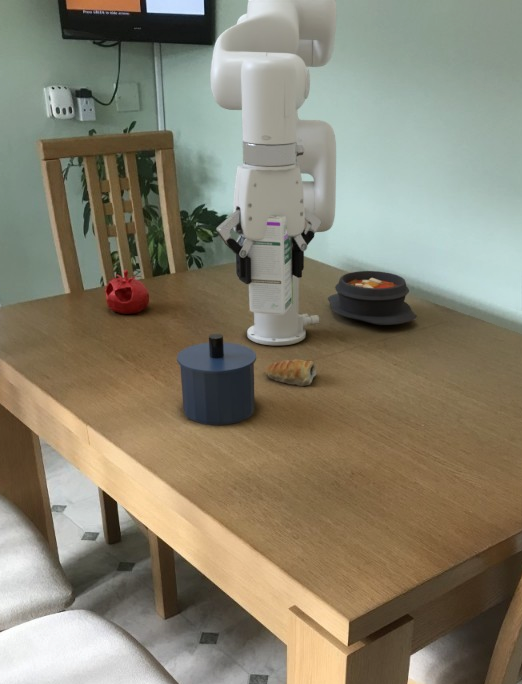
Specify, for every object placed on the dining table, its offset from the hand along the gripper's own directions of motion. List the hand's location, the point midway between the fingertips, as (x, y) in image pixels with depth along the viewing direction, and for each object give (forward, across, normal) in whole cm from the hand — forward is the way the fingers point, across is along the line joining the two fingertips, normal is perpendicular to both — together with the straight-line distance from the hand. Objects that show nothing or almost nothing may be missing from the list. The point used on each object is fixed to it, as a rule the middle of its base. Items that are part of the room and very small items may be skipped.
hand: (270, 278), depth 125 cm
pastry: (+25, -12, -17) cm, 33 cm away
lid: (+16, +6, -10) cm, 19 cm away
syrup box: (+5, 0, 0) cm, 5 cm away
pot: (+25, +6, -10) cm, 28 cm away
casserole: (+25, -46, -44) cm, 68 cm away
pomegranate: (+25, +4, -70) cm, 75 cm away
